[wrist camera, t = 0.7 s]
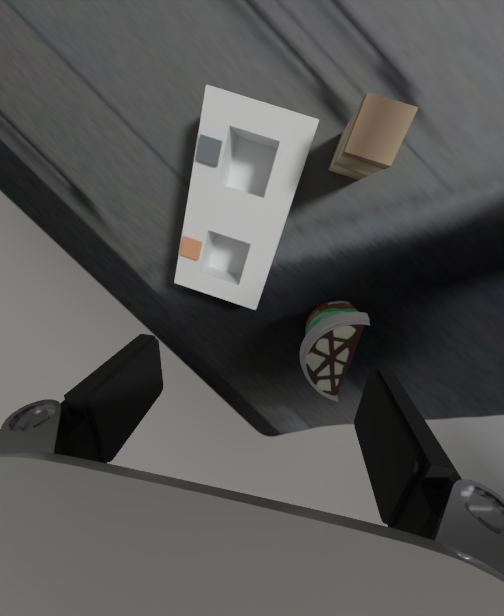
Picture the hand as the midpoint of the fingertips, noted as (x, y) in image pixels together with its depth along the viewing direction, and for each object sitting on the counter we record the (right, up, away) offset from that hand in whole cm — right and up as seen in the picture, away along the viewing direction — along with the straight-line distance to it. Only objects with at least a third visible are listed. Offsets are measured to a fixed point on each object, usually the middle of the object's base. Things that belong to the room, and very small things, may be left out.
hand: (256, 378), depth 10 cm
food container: (+10, +1, +27) cm, 29 cm away
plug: (+12, +21, +18) cm, 30 cm away
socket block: (-1, +16, +22) cm, 27 cm away
